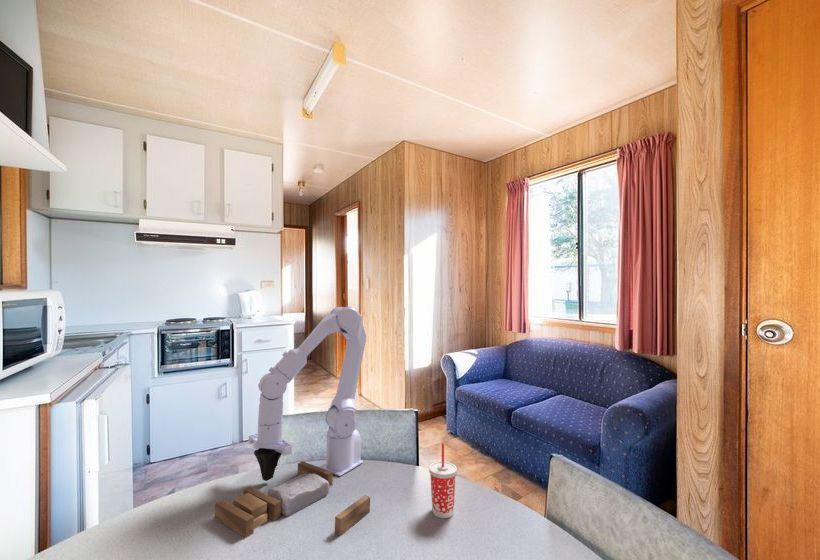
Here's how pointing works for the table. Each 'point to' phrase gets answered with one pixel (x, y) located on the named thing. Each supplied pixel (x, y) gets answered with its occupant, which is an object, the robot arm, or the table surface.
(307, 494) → the stone block
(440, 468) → the beverage cup
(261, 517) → the offcut low
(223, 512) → the wooden bar set
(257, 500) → the offcut top
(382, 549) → the table surface
